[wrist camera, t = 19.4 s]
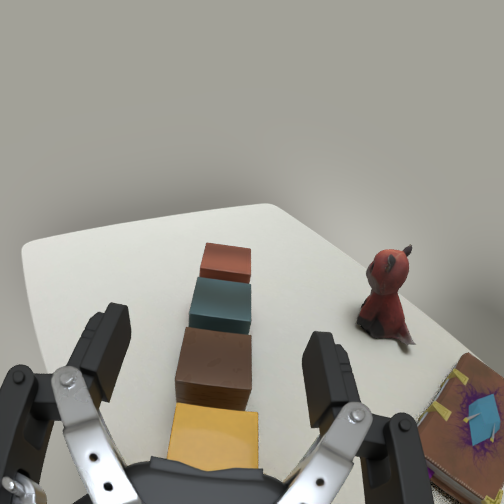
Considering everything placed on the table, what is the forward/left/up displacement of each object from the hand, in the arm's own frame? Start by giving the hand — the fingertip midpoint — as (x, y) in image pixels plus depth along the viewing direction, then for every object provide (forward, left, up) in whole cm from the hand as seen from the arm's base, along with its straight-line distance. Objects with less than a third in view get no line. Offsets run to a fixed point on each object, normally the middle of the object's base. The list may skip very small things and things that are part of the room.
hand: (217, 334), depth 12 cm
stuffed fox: (+29, -1, -16) cm, 33 cm away
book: (+21, -21, -16) cm, 34 cm away
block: (-1, -2, -16) cm, 16 cm away
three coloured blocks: (+7, +8, -16) cm, 19 cm away
